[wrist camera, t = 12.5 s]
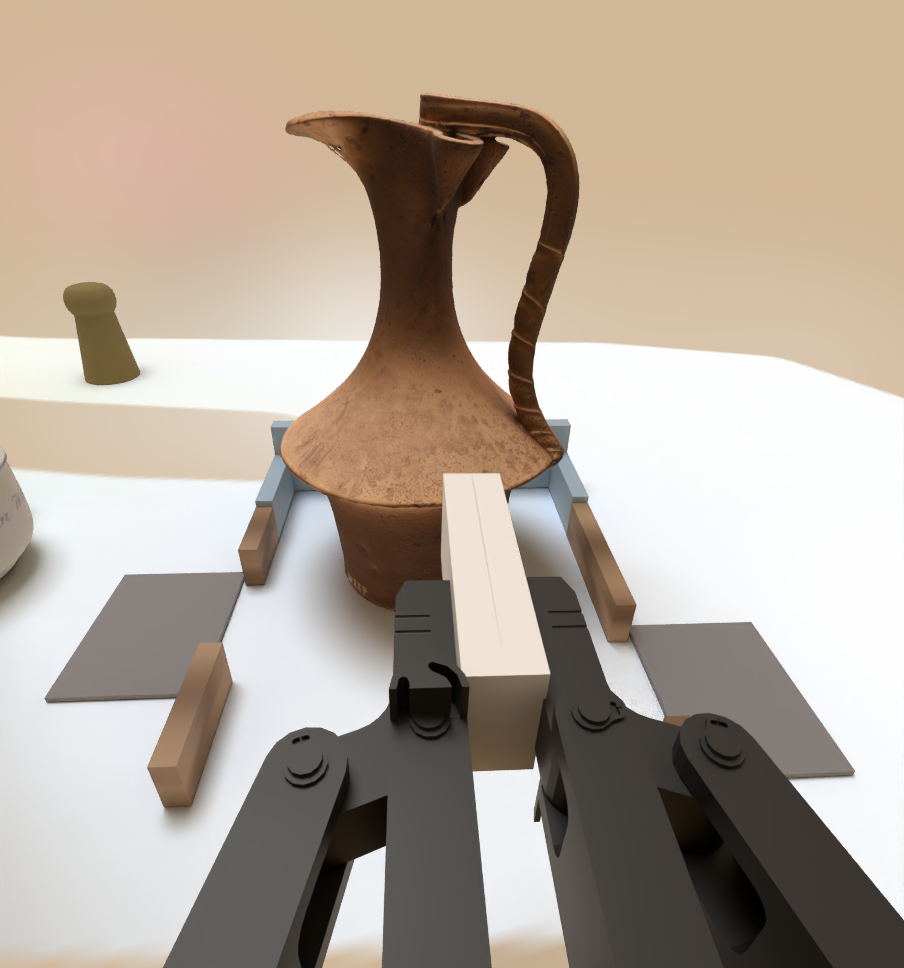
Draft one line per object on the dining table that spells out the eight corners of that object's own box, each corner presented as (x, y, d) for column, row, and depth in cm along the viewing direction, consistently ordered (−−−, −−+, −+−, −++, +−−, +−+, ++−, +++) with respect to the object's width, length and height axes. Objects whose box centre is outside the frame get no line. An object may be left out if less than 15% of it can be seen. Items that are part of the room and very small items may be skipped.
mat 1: (200, 696, 31) (199, 692, 31) (46, 702, 30) (44, 698, 30) (245, 575, 40) (245, 572, 39) (126, 578, 39) (125, 574, 39)
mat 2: (852, 775, 28) (855, 771, 28) (693, 782, 27) (695, 778, 27) (749, 625, 36) (751, 622, 36) (627, 629, 36) (627, 625, 36)
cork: (93, 368, 73) (64, 278, 67) (144, 366, 74) (121, 277, 68) (78, 386, 68) (46, 290, 62) (134, 383, 69) (107, 289, 63)
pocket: (582, 534, 45) (593, 467, 41) (262, 540, 43) (249, 471, 40) (558, 480, 52) (567, 419, 48) (283, 483, 50) (273, 421, 47)
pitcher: (559, 519, 46) (619, 104, 32) (524, 683, 32) (604, 75, 18) (357, 484, 50) (329, 100, 36) (248, 617, 36) (128, 74, 22)
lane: (687, 782, 27) (703, 743, 26) (163, 807, 26) (147, 767, 24) (581, 534, 44) (587, 502, 43) (262, 540, 43) (255, 507, 41)
